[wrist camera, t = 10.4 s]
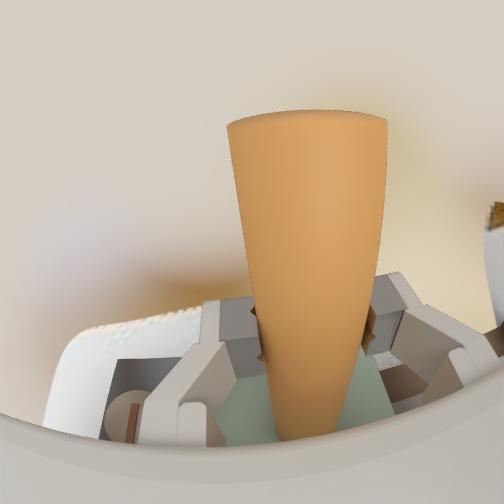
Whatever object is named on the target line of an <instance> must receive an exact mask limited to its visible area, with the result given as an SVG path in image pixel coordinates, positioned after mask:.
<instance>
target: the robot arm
mask: <svg viewBox="0 0 504 504" xmlns="http://www.w3.org/2000/svg"><path fill="white" fill-rule="evenodd" d="M361 346H362V348H363V351H364V353H365V356H370V355H374V354H379V353H383V352H387V351H390V352H391V353H392V354H393V355H394V356H396V357H397V358H398V359H399V360H400V361H402V362H403V363H404V364H405V365H407V366H408V367H409V368H410V369H412V370H413V371H414V372H415V373H416V374H418V375H419V376H420V377H421V378H423V379H424V380H425V381H426V382H428V383H429V386H428V387H427V389H426V390H425V391H424V393H423V394H422V396H421V398H420V401H421V403H422V406H420V407H418V408H415V409H412V410H410V411H407V412H404V413H401V414H398V415H395V416H392V417H389V418H386V419H383V420H379V421H376V422H372V423H369V424H365V425H362V426H358V427H354V428H350V429H346V430H342V431H338V432H333V433H328V434H324V435H319V436H313V437H308V438H302V439H296V440H289V441H282V442H275V443H266V444H256V445H244V446H229V447H227V441H226V438H225V436H224V435H223V433H222V431H221V430H220V428H219V427H218V425H217V423H216V422H215V420H214V418H215V416H216V415H217V413H218V411H219V410H220V408H221V406H222V405H223V403H224V401H225V400H226V398H227V396H228V395H229V393H230V391H231V390H232V388H233V386H234V384H235V383H236V381H237V378H245V377H253V376H260V375H265V370H264V360H263V352H262V346H261V341H260V333H259V327H258V321H257V316H256V310H255V304H254V298H253V296H248V297H238V298H228V299H221V300H212V301H211V300H210V301H204V303H203V305H202V316H201V327H200V339H199V344H194V345H193V346H192V347H191V348H190V349H189V350H188V352H187V353H186V354H185V355H184V356H183V357H182V359H181V360H180V361H179V362H178V363H177V364H176V365H175V367H174V368H173V369H172V370H171V371H170V372H169V374H168V375H167V376H166V377H165V378H164V379H163V380H162V382H161V383H160V384H159V385H158V386H157V387H156V388H155V390H154V391H153V392H152V393H151V394H150V395H149V396H148V397H147V399H146V400H145V401H144V407H143V413H142V420H141V426H140V433H139V440H138V444H129V443H121V442H113V441H106V440H100V439H94V438H89V437H84V436H79V435H74V434H69V433H65V432H61V431H57V430H53V429H49V428H45V427H42V426H38V425H35V424H31V423H28V422H25V421H21V420H19V419H16V418H13V417H10V416H7V415H5V414H2V413H0V504H504V366H503V365H502V363H501V361H500V360H499V358H498V356H497V355H496V353H495V351H494V350H493V348H492V347H491V345H490V343H489V342H488V340H487V339H486V337H485V336H484V335H482V334H480V333H479V332H477V331H475V330H473V329H471V328H470V327H468V326H466V325H464V324H462V323H461V322H459V321H457V320H455V319H453V318H451V317H450V316H448V315H446V314H444V313H442V312H440V311H438V310H437V309H435V308H433V307H431V306H429V305H423V304H422V303H421V301H420V300H419V298H418V297H417V295H416V294H415V292H414V291H413V289H412V288H411V287H410V285H409V284H408V282H407V281H406V280H405V278H404V277H403V275H402V274H401V273H399V272H394V273H390V274H385V275H381V276H376V277H375V278H374V284H373V289H372V295H371V300H370V305H369V310H368V315H367V320H366V324H365V329H364V333H363V337H362V341H361Z"/></svg>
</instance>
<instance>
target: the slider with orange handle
mask: <svg viewBox="0 0 504 504" xmlns="http://www.w3.org/2000/svg"><path fill="white" fill-rule="evenodd" d="M227 132H228V139H229V145H230V151H231V158H232V165H233V171H234V178H235V184H236V191H237V197H238V203H239V210H240V216H241V222H242V229H243V235H244V241H245V248H246V254H247V260H248V266H249V273H250V279H251V285H252V291H253V298H254V304H255V310H256V316H257V321H258V327H259V333H260V341H261V346H262V352H263V359H264V370H265V375H260V376H253V377H245V378H237V381H236V383H235V384H234V386H233V388H232V390H231V391H230V393H229V395H228V396H227V398H226V400H225V401H224V403H223V405H222V406H221V408H220V410H219V411H218V413H217V415H216V416H215V418H214V420H215V422H216V423H217V425H218V427H219V428H220V430H221V431H222V433H223V435H224V436H225V438H226V441H227V447H229V446H244V445H256V444H266V443H275V442H282V441H289V440H296V439H302V438H308V437H313V436H319V435H324V434H328V433H333V432H338V431H342V430H346V429H350V428H354V427H358V426H362V425H365V424H369V423H372V422H376V421H379V420H383V419H386V418H389V417H392V416H395V413H394V411H393V408H392V405H391V402H390V400H389V397H388V394H387V391H386V389H385V386H384V384H383V381H382V378H381V376H380V373H379V371H378V368H377V366H376V363H375V361H374V358H373V356H372V355H370V356H365V353H364V351H363V348H360V345H361V341H362V337H363V333H364V329H365V324H366V320H367V315H368V310H369V305H370V300H371V295H372V289H373V284H374V278H375V272H376V266H377V259H378V252H379V245H380V237H381V228H382V220H383V210H384V199H385V185H386V167H387V121H386V120H385V119H383V118H381V117H378V116H374V115H370V114H365V113H359V112H351V111H339V110H295V111H283V112H274V113H268V114H261V115H256V116H251V117H247V118H243V119H240V120H237V121H234V122H232V123H230V124H229V125H227Z"/></svg>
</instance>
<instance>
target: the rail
mask: <svg viewBox="0 0 504 504" xmlns="http://www.w3.org/2000/svg"><path fill="white" fill-rule="evenodd" d="M483 335H484V336H485V337H486V339H487V340H488V342H489V343H490V345H491V347H492V348H493V350H494V351H495V353H496V355H497V356H498V358H499V360H500V361H501V363H502V365H503V366H504V322H503V323H502V325H501V326H500V327H498V328H496V329H494V330H492V331H490V332H488V333H485V334H483ZM181 359H182V358H181V357H174V358H151V359H118V360H117V364H116V368H115V371H114V375H113V379H112V383H111V387H110V391H109V395H108V399H107V403H106V407H105V412H104V416H103V421H102V425H101V430H100V435H99V439H100V440H106V441H113V442H121V443H129V444H138V440H139V433H140V426H141V420H142V413H143V407H144V401H145V400H146V399H147V397H148V396H149V395H150V394H151V393H152V392H153V391H154V390H155V388H156V387H157V386H158V385H159V384H160V383H161V382H162V380H163V379H164V378H165V377H166V376H167V375H168V374H169V372H170V371H171V370H172V369H173V368H174V367H175V365H176V364H177V363H178V362H179V361H180V360H181ZM379 373H380V376H381V378H382V381H383V384H384V386H385V389H386V391H387V394H388V397H389V400H390V402H391V405H392V408H393V411H394V413H395V415H398V414H401V413H404V412H407V411H410V410H412V409H415V408H418V407H420V406H422V403H421V401H420V398H421V396H422V394H423V393H424V391H425V390H426V389H427V387H428V386H429V383H428V382H426V381H425V380H424V379H423V378H421V377H420V376H419V375H418V374H416V373H415V372H414V371H413V370H412V369H410V368H409V367H408V366H407V365H405V364H403V365H400V366H396V367H393V368H389V369H386V370H382V371H379Z"/></svg>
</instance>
